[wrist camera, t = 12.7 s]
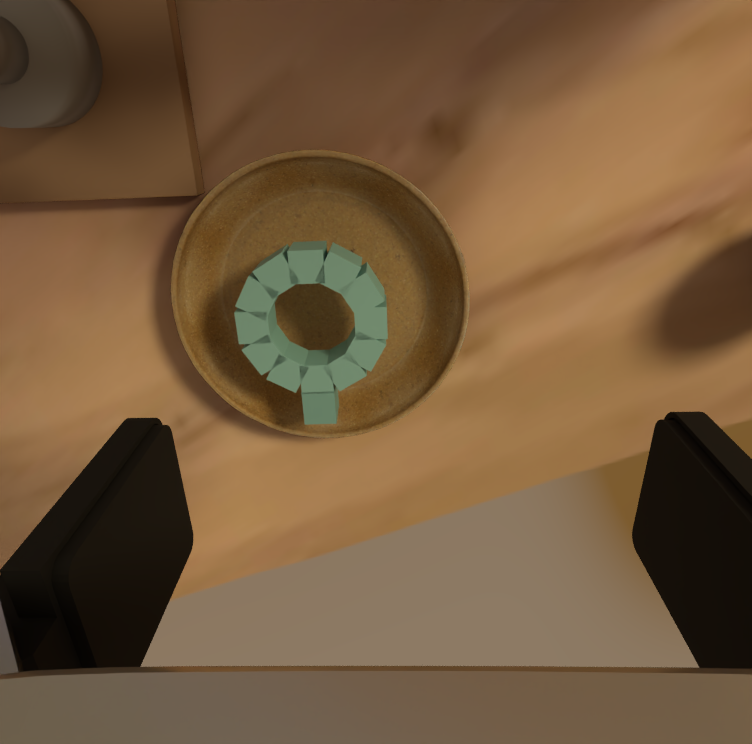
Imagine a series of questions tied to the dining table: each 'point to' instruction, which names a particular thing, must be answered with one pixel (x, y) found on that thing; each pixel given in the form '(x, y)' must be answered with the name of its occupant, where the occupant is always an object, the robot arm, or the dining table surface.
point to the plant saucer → (315, 301)
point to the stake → (94, 102)
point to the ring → (295, 363)
